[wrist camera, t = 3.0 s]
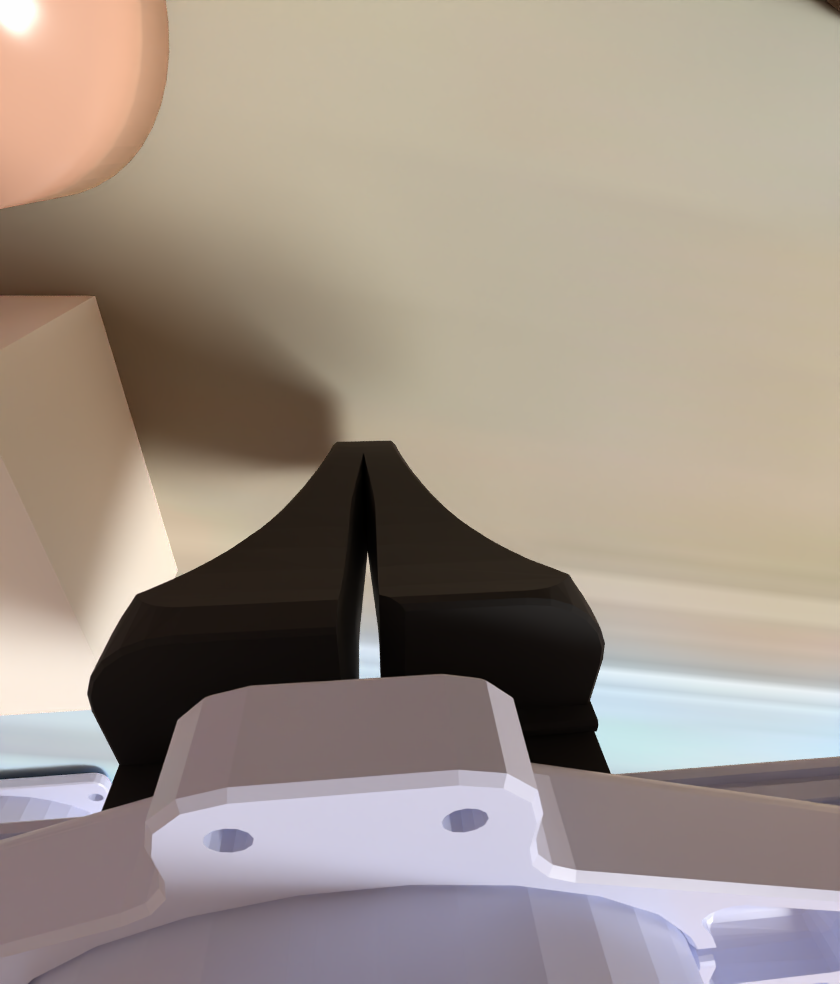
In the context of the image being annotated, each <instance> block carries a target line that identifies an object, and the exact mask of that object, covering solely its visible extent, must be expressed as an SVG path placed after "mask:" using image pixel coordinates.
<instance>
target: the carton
mask: <svg viewBox="0 0 840 984" xmlns="http://www.w3.org/2000/svg"><path fill="white" fill-rule="evenodd" d="M177 571H178V570H177V567H176V563H175V560H174V557H173V553H172V550H171V547H170V543H169V540H168V537H167V533H166V530H165V527H164V523H163V520H162V517H161V513H160V510H159V507H158V503H157V500H156V497H155V494H154V490H153V487H152V484H151V480H150V477H149V474H148V470H147V467H146V464H145V460H144V457H143V454H142V450H141V447H140V444H139V440H138V437H137V434H136V430H135V427H134V424H133V420H132V417H131V414H130V410H129V407H128V404H127V400H126V397H125V394H124V390H123V387H122V384H121V380H120V377H119V374H118V371H117V367H116V364H115V361H114V357H113V354H112V351H111V347H110V344H109V341H108V337H107V334H106V331H105V327H104V324H103V321H102V317H101V314H100V311H99V307H98V304H97V301H96V297H95V296H0V716H2V715H18V714H33V713H49V712H64V711H80V710H91V706H90V703H89V699H88V696H87V691H88V685H89V680H90V676H91V674H92V672H93V670H94V668H95V666H96V664H97V662H98V660H99V658H100V656H101V654H102V652H103V650H104V648H105V646H106V644H107V642H108V640H109V638H110V637H111V635H112V633H113V631H114V629H115V627H116V625H117V624H118V622H119V620H120V618H121V617H122V615H123V614H124V612H125V611H126V609H127V608H128V606H129V605H130V603H131V602H132V600H133V599H134V597H135V595H136V594H138V593H141V592H144V591H146V590H149V589H151V588H153V587H156V586H158V585H160V584H162V583H165V582H167V581H169V580H172V579H174V578H175V575H176V573H177Z"/></svg>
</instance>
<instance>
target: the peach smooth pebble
mask: <svg viewBox="0 0 840 984" xmlns="http://www.w3.org/2000/svg"><path fill="white" fill-rule="evenodd" d="M168 59H169V28H168V16H167V8H166V0H0V209H3V208H8V207H13V206H18V205H24V204H29V203H34V202H40V201H45V200H50V199H56V198H61V197H65V196H70V195H75V194H79V193H81V192H84V191H86V190H89V189H92V188H94V187H97V186H98V185H100V184H102V183H103V182H105V181H107V180H108V179H110V178H111V177H113V176H115V175H116V174H117V173H118V172H119V171H120V170H121V169H122V168H124V167H125V166H126V165H127V164H128V163H129V162H130V161H131V160H132V158H133V157H134V156H135V155H136V153H137V152H138V151H139V149H140V148H141V147H142V146H143V144H144V142H145V140H146V138H147V137H148V135H149V133H150V131H151V129H152V128H153V125H154V123H155V120H156V117H157V114H158V112H159V109H160V106H161V103H162V98H163V94H164V89H165V85H166V80H167V70H168Z"/></svg>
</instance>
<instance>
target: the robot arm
mask: <svg viewBox="0 0 840 984" xmlns="http://www.w3.org/2000/svg"><path fill="white" fill-rule="evenodd" d="M367 552H368V557H369V564H370V572H371V579H372V586H373V594H374V601H375V608H376V616H377V623H378V632H379V644H380V673H381V678H368V679H359V634H360V622H361V612H362V602H363V592H364V582H365V573H366V562H367ZM604 645H605V642H604V639H603V635H602V632H601V629H600V626H599V624H598V622H597V620H596V618H595V616H594V614H593V612H592V610H591V608H590V607H589V605H588V603H587V602H586V600H585V598H584V597H583V595H582V594H581V592H580V591H579V589H578V588H577V586H576V585H575V583H574V582H573V580H572V579H571V577H570V575H569V574H566V573H564V572H561V571H559V570H556V569H553V568H551V567H548V566H545V565H543V564H540V563H537V562H535V561H532V560H529V559H527V558H525V557H523V556H521V555H519V554H517V553H514V552H512V551H510V550H508V549H506V548H504V547H502V546H500V545H499V544H497V543H495V542H493V541H491V540H490V539H488V538H486V537H485V536H483V535H482V534H480V533H478V532H477V531H475V530H474V529H472V528H471V527H469V526H468V525H466V524H465V523H464V522H462V521H461V520H460V519H458V518H457V517H456V516H455V515H453V514H452V513H451V512H450V511H448V510H447V509H446V508H445V507H444V506H443V505H442V504H441V503H440V502H439V501H438V500H437V499H436V498H435V497H434V496H433V495H432V494H431V493H430V492H429V491H428V490H427V489H426V487H425V486H424V485H423V484H422V483H421V482H420V480H419V479H418V478H417V477H416V475H415V474H414V473H413V472H412V470H411V469H410V468H409V466H408V465H407V463H406V462H405V461H404V459H403V458H402V456H401V454H400V453H399V451H398V449H397V447H396V445H395V444H394V443H393V442H392V441H360V442H337V443H336V444H335V445H333V446H332V448H331V450H330V452H329V453H328V455H327V456H326V458H325V459H324V461H323V462H322V464H321V465H320V467H319V468H318V469H317V471H316V472H315V473H314V475H313V476H312V477H311V478H310V480H309V481H308V482H307V483H306V485H305V486H304V487H303V488H302V489H301V490H300V492H299V493H298V494H297V495H296V496H295V497H294V498H293V499H292V500H291V501H290V502H289V504H288V505H287V506H286V507H285V508H284V509H283V510H282V511H280V512H279V513H278V514H277V515H276V516H275V517H274V518H273V519H272V520H270V521H269V522H268V523H267V524H266V525H264V526H263V527H262V528H261V529H259V530H258V531H256V532H255V533H253V534H252V535H250V536H249V537H248V538H246V539H245V540H243V541H242V542H240V543H239V544H237V545H236V546H235V547H233V548H231V549H230V550H228V551H227V552H225V553H223V554H221V555H220V556H218V557H216V558H214V559H213V560H211V561H209V562H207V563H205V564H203V565H201V566H199V567H198V568H196V569H194V570H192V571H190V572H187V573H185V574H183V575H181V576H179V577H176V578H174V579H172V580H169V581H167V582H165V583H162V584H160V585H158V586H156V587H153V588H151V589H149V590H146V591H144V592H141V593H138V594H136V595H135V597H134V599H133V600H132V602H131V603H130V605H129V606H128V608H127V609H126V611H125V612H124V614H123V615H122V617H121V618H120V620H119V622H118V624H117V625H116V627H115V629H114V631H113V633H112V635H111V637H110V638H109V640H108V642H107V644H106V646H105V648H104V650H103V652H102V654H101V656H100V658H99V660H98V662H97V664H96V666H95V668H94V670H93V672H92V674H91V676H90V680H89V685H88V691H87V696H88V699H89V703H90V706H91V710H92V712H93V714H94V716H95V718H96V720H97V722H98V724H99V726H100V728H101V730H102V732H103V734H104V736H105V738H106V739H107V741H108V743H109V745H110V747H111V749H112V751H113V753H114V755H115V757H116V759H117V761H118V763H119V767H118V770H117V772H116V775H115V777H114V780H113V782H112V783H111V781H110V780H109V778H108V777H107V776H105V775H103V774H100V773H83V774H69V775H55V776H42V777H28V778H14V779H0V984H840V757H827V758H814V759H802V760H789V761H777V762H764V763H751V764H739V765H726V766H714V767H701V768H688V769H676V770H663V771H651V772H638V773H625V774H611V773H610V770H609V768H608V765H607V763H606V760H605V758H604V755H603V753H602V750H601V748H600V745H599V742H598V740H597V737H596V735H595V732H594V731H597V728H598V719H597V717H596V714H595V712H594V709H593V707H592V704H591V702H590V698H591V695H592V692H593V689H594V686H595V682H596V679H597V676H598V673H599V670H600V666H601V663H602V660H603V654H604Z"/></svg>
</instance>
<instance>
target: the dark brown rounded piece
mask: <svg viewBox="0 0 840 984" xmlns="http://www.w3.org/2000/svg"><path fill="white" fill-rule="evenodd" d="M826 1H827V2H828V3H829V4H830V5H832V6H833V7H834V8H836V9H837V10H839V11H840V0H826Z"/></svg>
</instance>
